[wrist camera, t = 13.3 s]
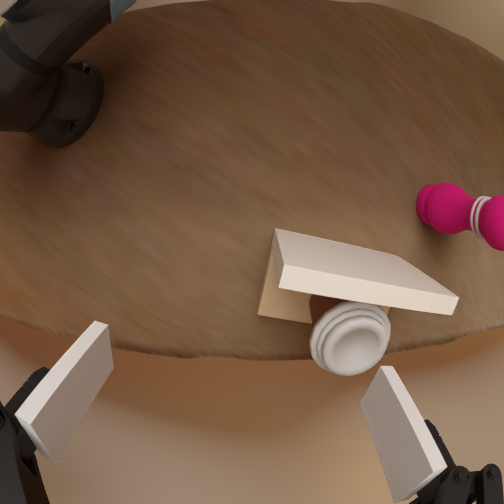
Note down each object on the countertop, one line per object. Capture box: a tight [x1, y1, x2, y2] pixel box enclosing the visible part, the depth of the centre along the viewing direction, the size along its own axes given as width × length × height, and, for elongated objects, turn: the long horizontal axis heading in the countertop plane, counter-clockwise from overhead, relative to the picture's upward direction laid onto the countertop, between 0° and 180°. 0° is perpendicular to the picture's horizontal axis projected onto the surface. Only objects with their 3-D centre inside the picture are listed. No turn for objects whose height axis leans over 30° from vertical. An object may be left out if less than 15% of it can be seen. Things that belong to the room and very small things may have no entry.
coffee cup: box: [308, 294, 391, 376], centre depth 30 cm, size 9×9×12 cm
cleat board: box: [258, 228, 459, 324], centre depth 31 cm, size 12×19×16 cm, turn 79°
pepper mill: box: [416, 183, 504, 251], centre depth 25 cm, size 7×7×20 cm
